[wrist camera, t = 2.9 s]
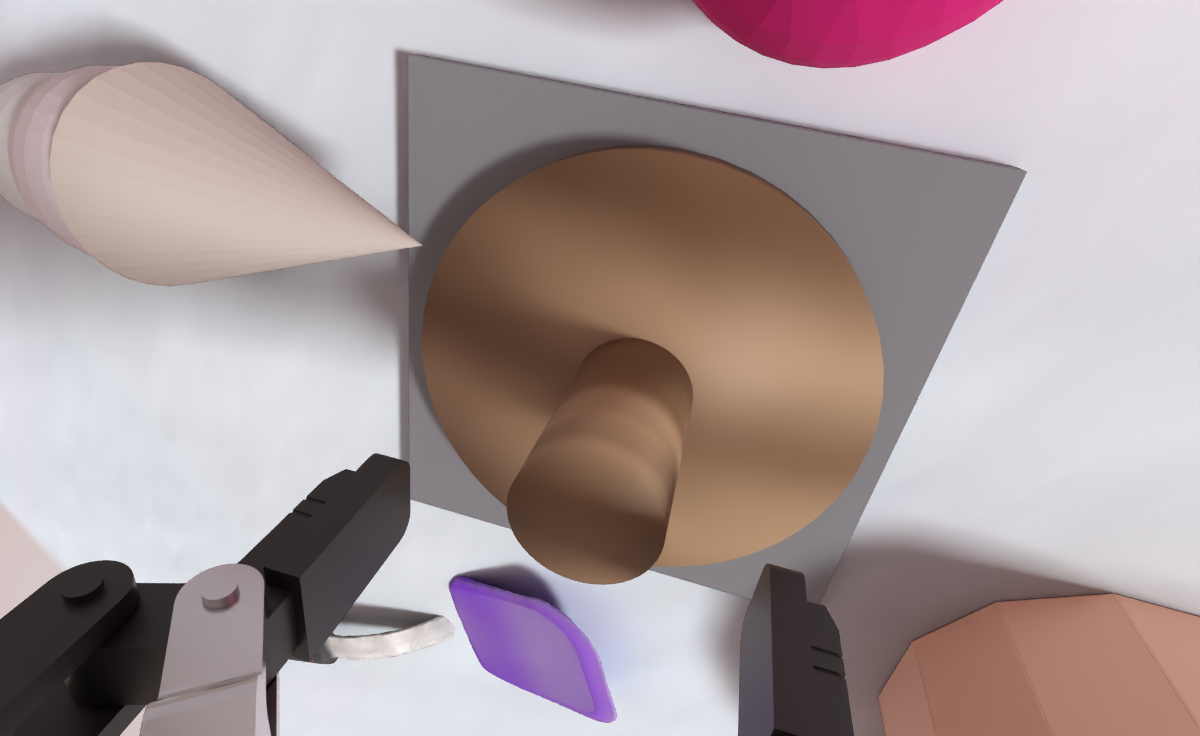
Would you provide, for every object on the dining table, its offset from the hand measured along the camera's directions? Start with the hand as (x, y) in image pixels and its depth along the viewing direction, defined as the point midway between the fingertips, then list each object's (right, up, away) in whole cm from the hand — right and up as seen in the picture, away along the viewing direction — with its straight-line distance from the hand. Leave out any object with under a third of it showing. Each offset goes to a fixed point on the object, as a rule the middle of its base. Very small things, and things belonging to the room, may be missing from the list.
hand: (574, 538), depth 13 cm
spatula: (-10, -8, +17) cm, 21 cm away
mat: (+2, +4, +7) cm, 8 cm away
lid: (+2, +3, +6) cm, 7 cm away
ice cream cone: (-10, +10, +7) cm, 16 cm away
